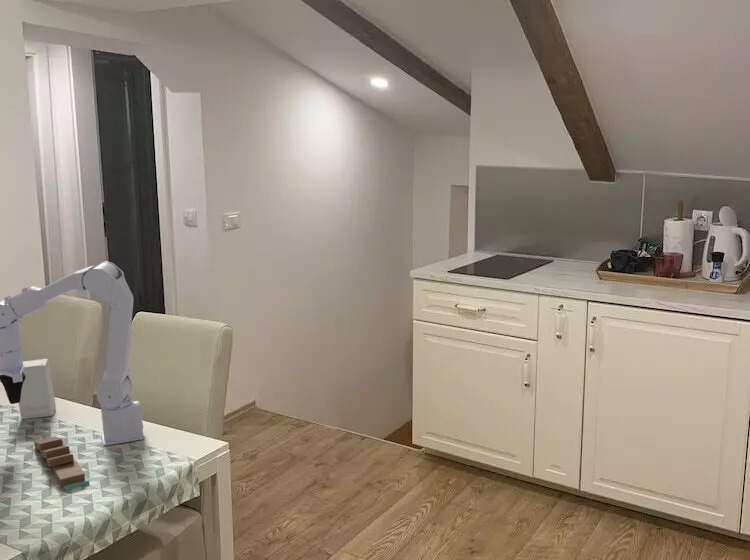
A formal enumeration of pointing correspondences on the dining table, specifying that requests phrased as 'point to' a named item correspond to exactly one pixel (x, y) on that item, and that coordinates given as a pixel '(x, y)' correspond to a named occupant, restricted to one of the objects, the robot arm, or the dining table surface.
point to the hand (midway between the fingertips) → (14, 402)
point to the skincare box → (37, 390)
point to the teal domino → (76, 484)
